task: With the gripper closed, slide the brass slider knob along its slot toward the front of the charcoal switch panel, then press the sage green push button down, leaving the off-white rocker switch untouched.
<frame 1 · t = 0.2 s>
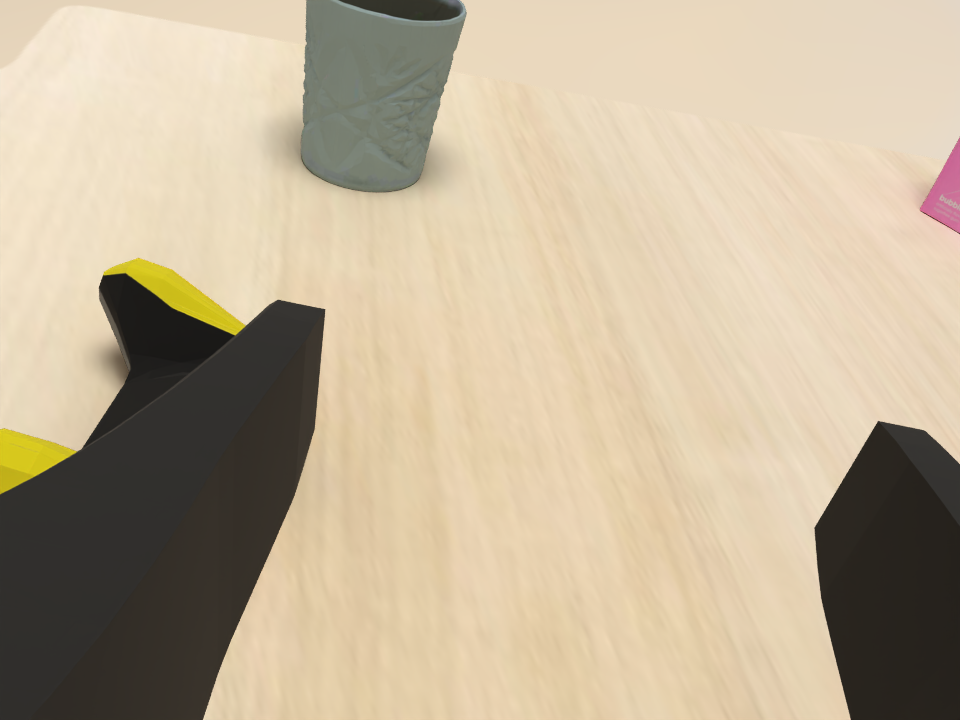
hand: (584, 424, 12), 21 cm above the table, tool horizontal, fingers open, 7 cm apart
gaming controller: (167, 463, 39), on the table
green embossed plant pot: (365, 166, 65), on the table
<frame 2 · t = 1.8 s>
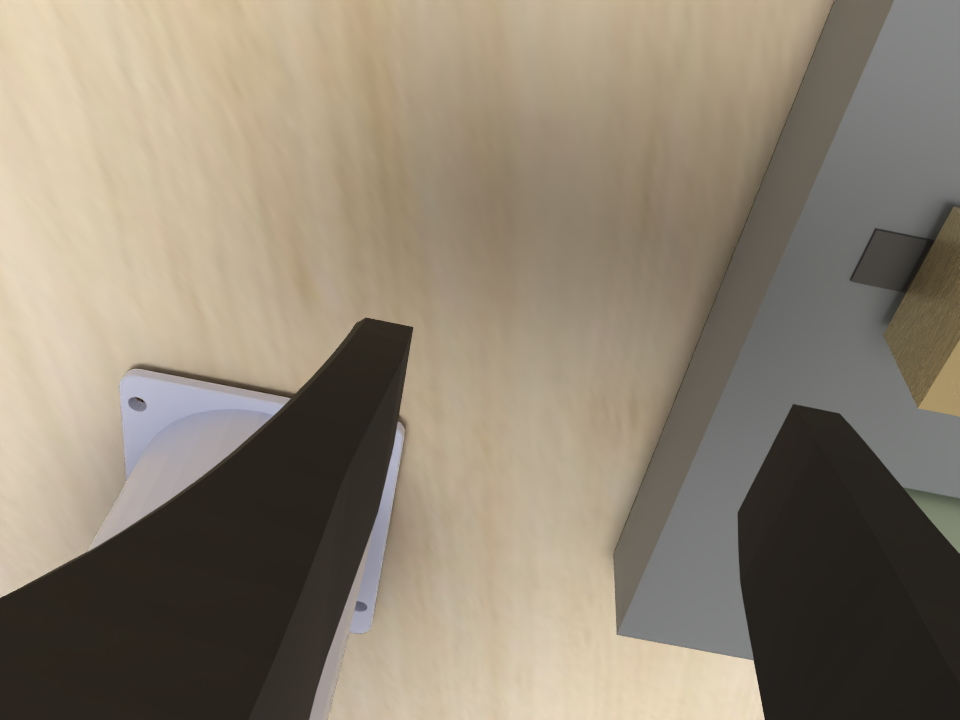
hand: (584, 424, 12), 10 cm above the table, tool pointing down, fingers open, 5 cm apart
sage button: (943, 580, 23), point 4 cm above the table, slide at 0.0 cm
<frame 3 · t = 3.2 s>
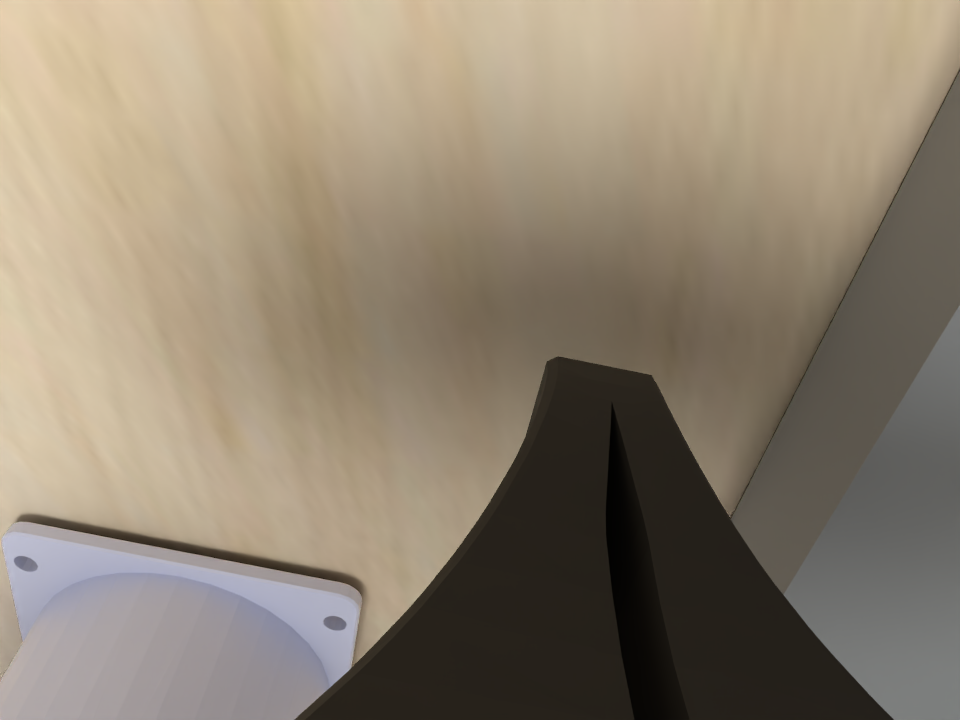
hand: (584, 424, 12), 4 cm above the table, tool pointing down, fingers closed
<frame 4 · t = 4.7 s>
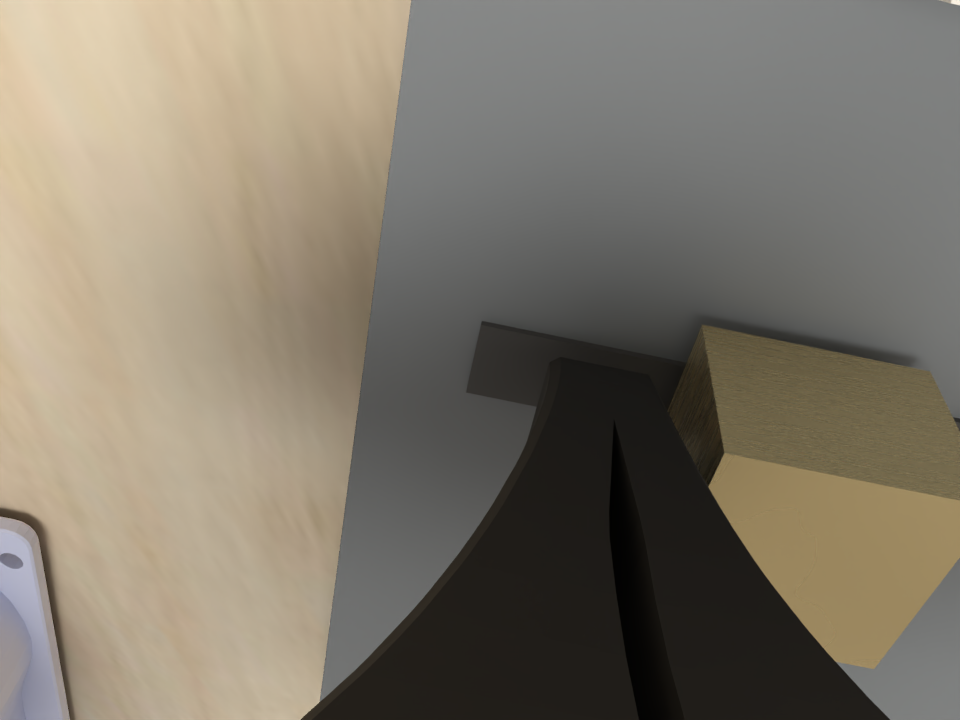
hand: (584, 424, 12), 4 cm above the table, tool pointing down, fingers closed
brass slider knob: (788, 496, 12), point 5 cm above the table, slide at 1.7 cm, touching gripper
switch panel: (814, 314, 15), on the table
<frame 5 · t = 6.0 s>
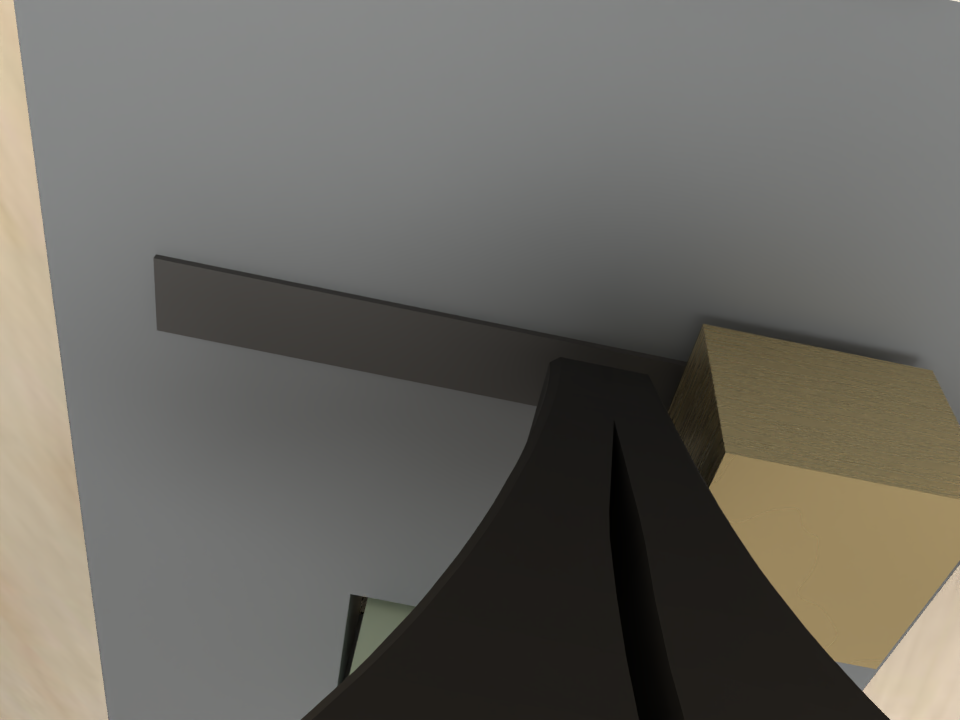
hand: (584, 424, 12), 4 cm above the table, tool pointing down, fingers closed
brass slider knob: (789, 496, 12), point 5 cm above the table, slide at 6.2 cm, touching gripper
switch panel: (556, 260, 15), on the table
sage button: (454, 714, 17), point 3 cm above the table, slide at 0.0 cm
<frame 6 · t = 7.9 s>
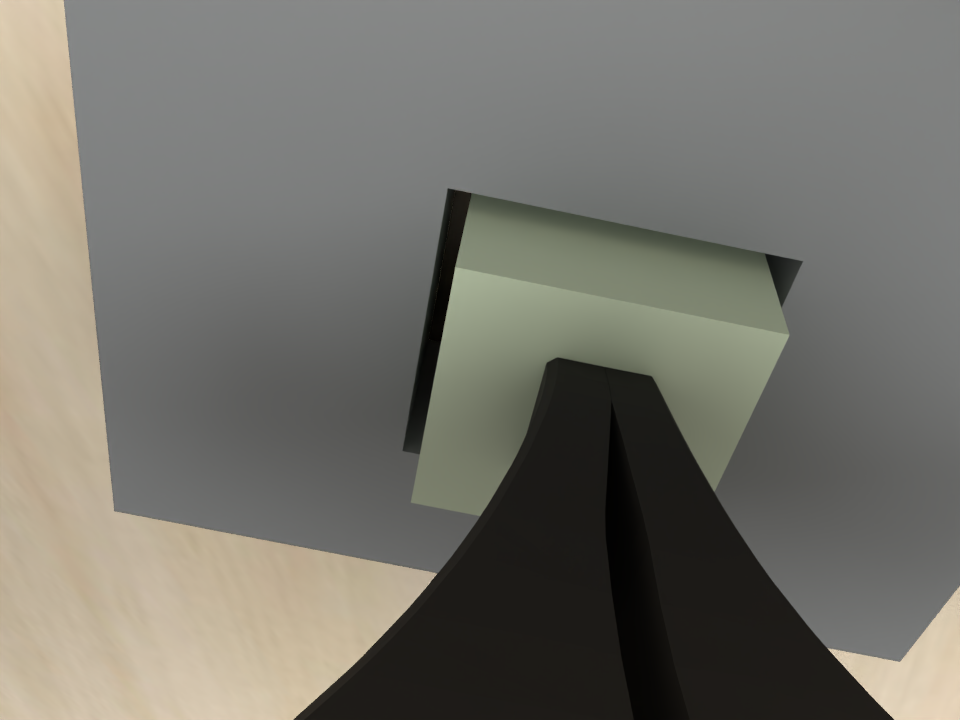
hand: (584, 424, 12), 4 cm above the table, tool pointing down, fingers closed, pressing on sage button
sage button: (582, 358, 13), point 3 cm above the table, slide at 0.7 cm, touching gripper
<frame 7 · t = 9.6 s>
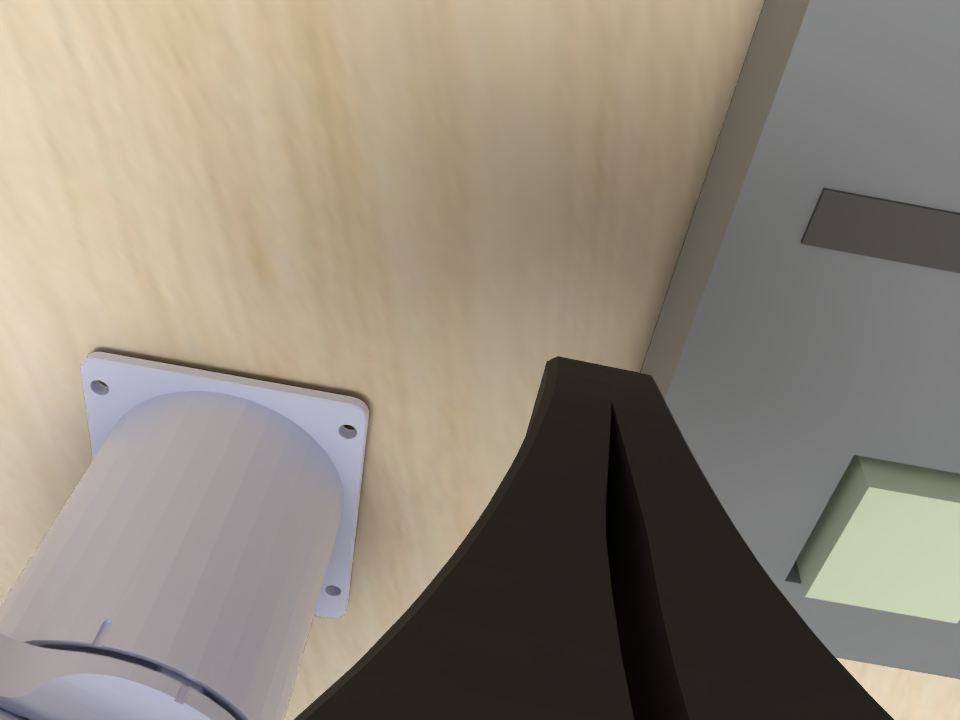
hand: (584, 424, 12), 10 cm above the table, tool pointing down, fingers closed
sage button: (898, 514, 23), point 2 cm above the table, slide at 1.3 cm
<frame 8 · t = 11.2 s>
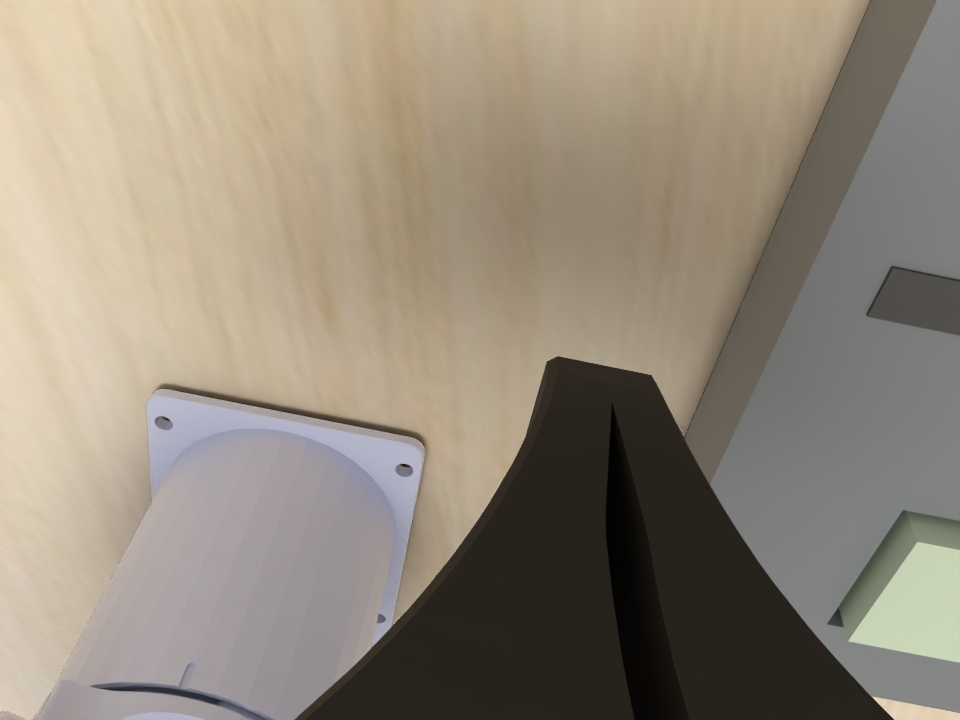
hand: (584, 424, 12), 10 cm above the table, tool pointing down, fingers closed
sage button: (938, 563, 24), point 2 cm above the table, slide at 1.3 cm
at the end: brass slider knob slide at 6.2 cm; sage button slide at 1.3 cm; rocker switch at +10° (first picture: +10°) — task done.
